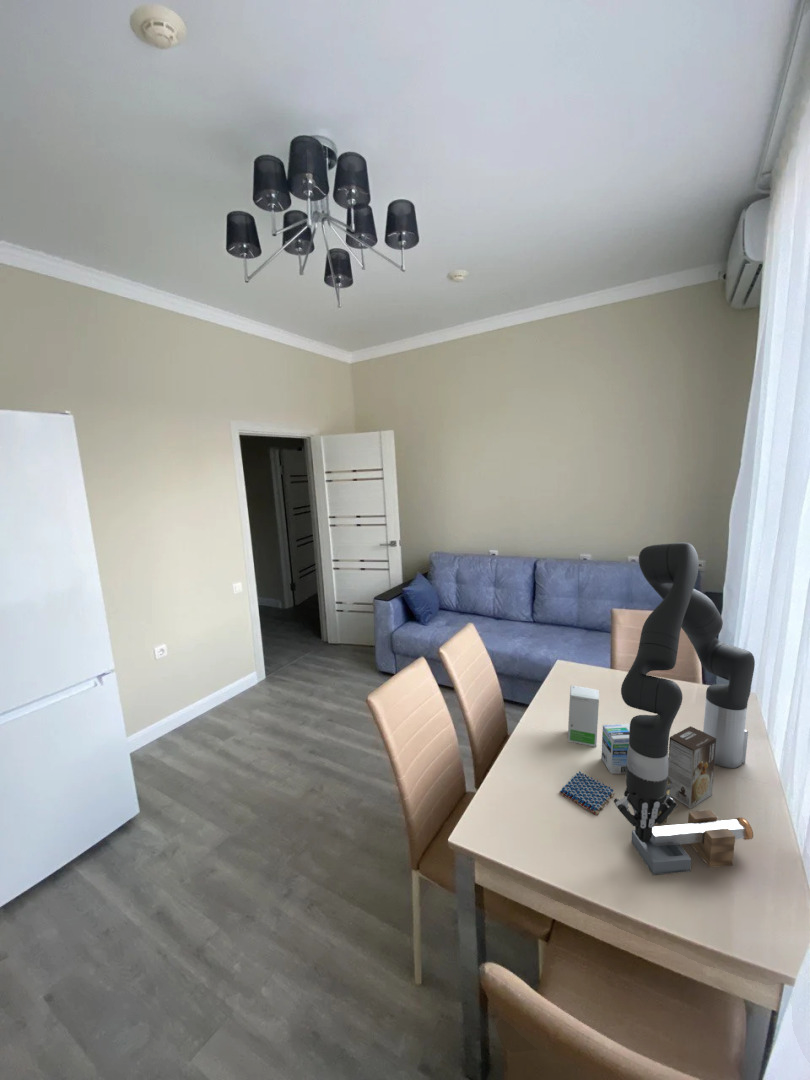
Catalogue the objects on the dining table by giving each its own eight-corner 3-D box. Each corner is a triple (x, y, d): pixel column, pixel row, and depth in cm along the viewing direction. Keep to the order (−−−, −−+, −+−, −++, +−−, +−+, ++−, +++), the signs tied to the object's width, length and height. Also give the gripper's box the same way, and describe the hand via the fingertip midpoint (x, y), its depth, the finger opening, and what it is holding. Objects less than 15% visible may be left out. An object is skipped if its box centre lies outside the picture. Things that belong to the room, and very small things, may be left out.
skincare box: (567, 742, 134) (568, 695, 131) (568, 729, 140) (569, 684, 137) (597, 747, 131) (599, 699, 128) (597, 734, 137) (598, 688, 134)
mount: (707, 837, 99) (710, 809, 98) (732, 865, 92) (735, 836, 91) (686, 839, 99) (688, 811, 98) (709, 867, 92) (712, 838, 91)
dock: (665, 838, 99) (666, 827, 99) (690, 871, 91) (691, 859, 91) (631, 842, 99) (631, 830, 98) (652, 874, 91) (653, 862, 90)
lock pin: (737, 828, 97) (739, 812, 97) (752, 844, 93) (754, 827, 93) (645, 837, 96) (646, 821, 96) (656, 853, 92) (657, 836, 92)
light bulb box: (611, 774, 120) (612, 739, 118) (600, 758, 126) (601, 724, 124) (650, 773, 120) (652, 737, 118) (637, 756, 126) (639, 722, 124)
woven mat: (616, 795, 113) (617, 788, 113) (597, 818, 106) (597, 811, 106) (578, 775, 121) (578, 768, 120) (557, 795, 114) (557, 788, 114)
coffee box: (686, 779, 116) (690, 724, 114) (712, 795, 111) (717, 737, 108) (665, 793, 112) (669, 736, 109) (691, 809, 107) (695, 750, 104)
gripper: (666, 752, 95) (662, 822, 98) (606, 757, 94) (604, 827, 98) (690, 777, 88) (684, 851, 91) (625, 782, 87) (622, 857, 90)
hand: (643, 838), depth 94 cm, fingers closed
